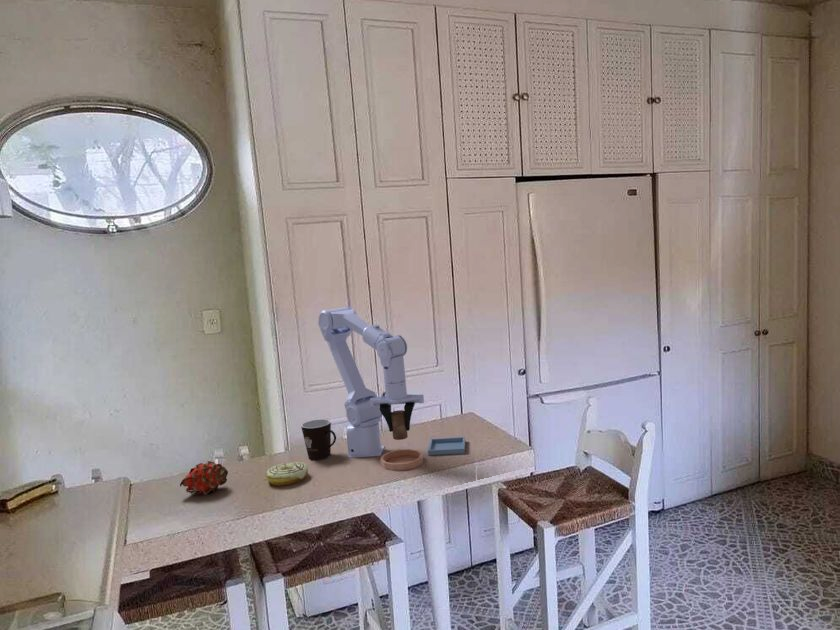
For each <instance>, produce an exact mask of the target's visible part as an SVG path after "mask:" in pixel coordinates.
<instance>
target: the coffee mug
mask: <svg viewBox="0 0 840 630" xmlns="http://www.w3.org/2000/svg"><path fill="white" fill-rule="evenodd" d="M331 424H332V421H331V420H330V419H325V418H320V419H319V418H318V419H317V418H316V419H312V420H308V421H307V420H306V422H303V423H301V424H300V426H301V431H302V435H303V436H302V437H303V439H304V445H305V448H306V452H307V457H308V459H309V461H323V460H326V459H328V458H329V457H331V455H332V454H331V452H332V451H331V448H332V447H333V445H335V443H336V442H337V441H336V440H337V436H336V433H335V432H334V431H333V430H332V425H331ZM331 434H332V435H333V440H332V442H331V439H332V438H331Z"/></svg>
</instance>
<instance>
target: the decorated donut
mask: <svg viewBox="0 0 840 630" xmlns="http://www.w3.org/2000/svg"><path fill="white" fill-rule="evenodd" d="M308 473H309V471H308V465H307V464H306V463H305V462H302V461H301V462H300V461H289V462H282V463H278V464H276V465H272V466H271V467H269V468H268V469H267V470H266V480H267V481H268V482H269V483H270V485H271V484H272V486H275V485H277V486H276V487H278V486H283V485H286V486H291V485H294V484H297V483H298V482H300V481H303V480H304V479H306V478H307V475H308ZM290 484H291V485H290Z"/></svg>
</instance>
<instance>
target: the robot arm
mask: <svg viewBox="0 0 840 630" xmlns="http://www.w3.org/2000/svg"><path fill="white" fill-rule="evenodd" d="M317 325H318V327H319V330H320V332H321V335H322V337H323V339H324V341H326V343H327V346H328V349H329V350H330V353H331V356H332V357H333V360H334V362H335V364H336V368H337V369H338V371H339V374H340V377H341V380H342V381H343V384H344V386H345V390H346V391H347V393H348V395H347V398H346V399H345V402H344V403H343V406H344V408H345V412H346V418H347V420H348V423H349V424H347V427H346V443H347V452H348V453H347V454H348V458H349V459H350V458H362V457H363V458H365V457H367V458H368V457H380V456H382V453H383V452H384V448H385V445H382V442H381V433H380V431H381V430H380V423H379V422H381V418H382V417H383V418H384V419H385V422H386V424H387V427H388V430H389V432H392V422H391V412H392V405H393V406H394V405H404V407H403V411H405V417H406V431H407V432H408V431H410V427H411V419H412V414H413V411H414V407H415V404H424V403H425V398H424V397H425V396H424V394H408V393H407V381H406V373H405V372H406V371H405V370H406V368H405V359H404V356H405V355H406V354H407V352H408V343H407V342H406V340H405V338H404V337H403V336H402V335H400V334H397V335H394V334H393V335H392V334H391V333H390V332H388V331H386V330H384V329H383V328H381V326H380V325H379V324H377V323H376V324H370V325H369V324H368V323H367V322H366V321H365V320H363V319H362V318H361V317H360V316H358V315H357V312H356V310H355V309H354V308H352V307H350V306H344V307H339V308H338V307H337V308H333V309H323V310H321V311H320V313H319V316H318V321H317ZM352 331H353V332H355V333H356V334H358V335H361V336H362V340H363V342H364V343H365V344H367V345H368V346H370V347H371V348H372V349H374V350H376V354H377V356H378V357H379V359H380V365H381V366H382V370H383V372H382V373H383V379H384V390H385V391H384V392H385V395H384V396H377V393H376V392H375V391H373V390H371V389H369V388H367V387H366V385H365V383H364V380H363V378H362V376H361V374H360V372H359V369H358V367H357V366H358V365H357V364H356V362H355V359H354V357H353V355H352V353H351V350H350V347H349V346H348V343H347V338H349V337H350V336H351V333H352ZM392 433H393V432H392Z"/></svg>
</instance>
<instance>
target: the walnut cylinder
mask: <svg viewBox="0 0 840 630" xmlns="http://www.w3.org/2000/svg"><path fill="white" fill-rule="evenodd" d="M391 422H392V439H393V440H396V441H399V440H402V441H403V440H406V439H407V438H408V431H406V417H405V410H404V409H403V410H402V409H401V410H393V411H391Z"/></svg>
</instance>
